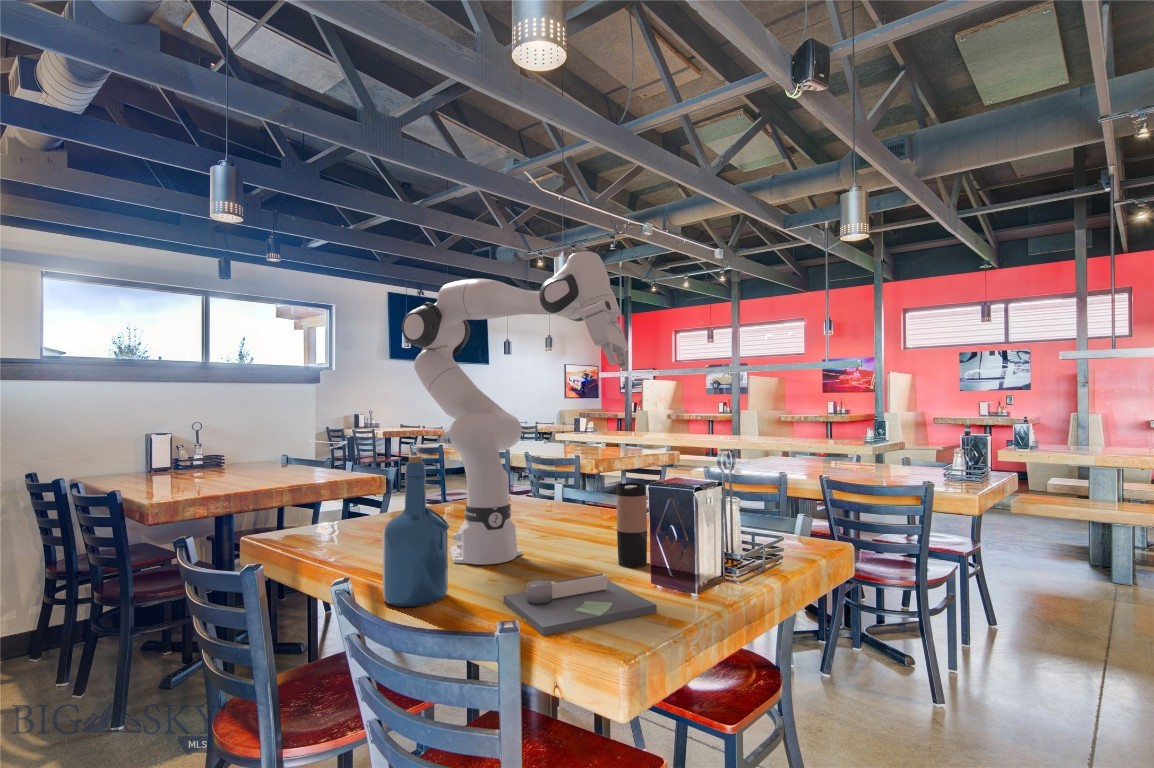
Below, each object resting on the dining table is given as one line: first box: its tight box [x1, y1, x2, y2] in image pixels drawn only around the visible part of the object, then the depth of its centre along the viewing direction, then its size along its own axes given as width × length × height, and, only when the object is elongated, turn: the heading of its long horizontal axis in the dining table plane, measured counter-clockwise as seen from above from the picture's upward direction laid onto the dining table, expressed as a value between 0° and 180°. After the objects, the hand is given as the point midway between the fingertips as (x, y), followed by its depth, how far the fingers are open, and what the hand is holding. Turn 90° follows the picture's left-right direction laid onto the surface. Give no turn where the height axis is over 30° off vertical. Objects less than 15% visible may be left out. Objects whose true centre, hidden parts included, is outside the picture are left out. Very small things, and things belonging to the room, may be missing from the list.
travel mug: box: [616, 482, 648, 569], centre depth 150 cm, size 8×8×20 cm
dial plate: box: [502, 579, 658, 637], centre depth 117 cm, size 20×24×2 cm
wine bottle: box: [382, 455, 450, 608], centre depth 125 cm, size 14×13×30 cm
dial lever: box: [526, 572, 608, 604], centre depth 120 cm, size 5×18×3 cm, turn 117°
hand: (618, 366), depth 142 cm, fingers open, 8 cm apart
